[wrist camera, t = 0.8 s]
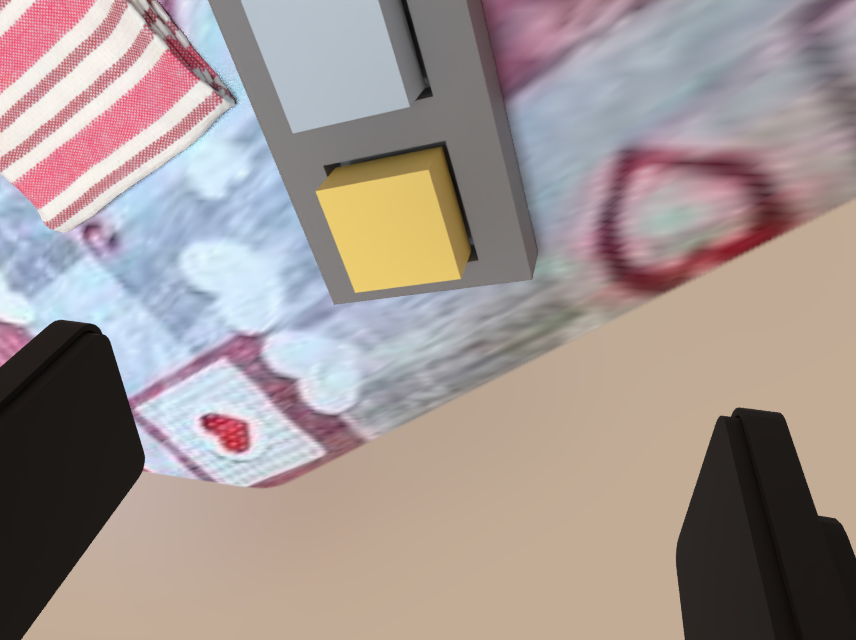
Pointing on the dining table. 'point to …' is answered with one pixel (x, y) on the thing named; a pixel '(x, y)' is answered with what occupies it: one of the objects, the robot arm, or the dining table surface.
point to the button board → (408, 143)
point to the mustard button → (396, 221)
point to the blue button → (336, 58)
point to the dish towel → (96, 100)
